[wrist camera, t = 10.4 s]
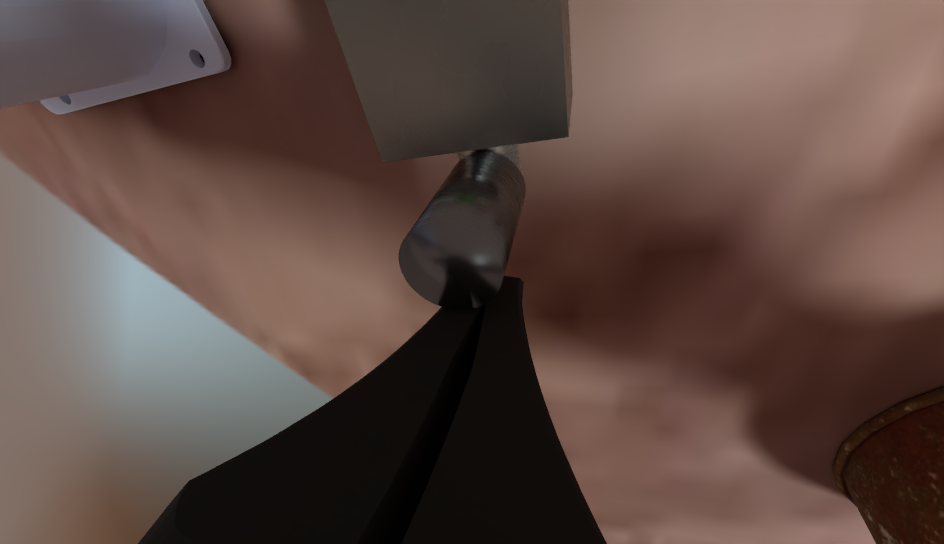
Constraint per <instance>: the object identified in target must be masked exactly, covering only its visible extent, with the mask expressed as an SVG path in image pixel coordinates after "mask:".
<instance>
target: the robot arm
mask: <svg viewBox="0 0 944 544" xmlns="http://www.w3.org/2000/svg"><path fill="white" fill-rule="evenodd" d="M199 52H200V54H201V55H202V56H203V58H204V61H205V63H204V62H203V61H202V60H201V58H200V55H199ZM230 66H231V57H230V54H229V51H228V49H227V47H226V45H225V43H224V41H223V39H222V37H221V35H220V33H219V31H218V29H217V27H216V25H215V23H214V22H213V20H212V18H211V16H210V14H209V12H208V10H207V8H206V6H205V4H204V2H203V0H0V109H1V108H6V107H11V106H16V105H20V104H25V103H30V102H34V101H40V102H41V104H42V105H43V106H44V107H45V108H46V109H48V110H49V111H50V112H53V113H55V114H58V115H61V114H65V113H69V112H73V111H77V110H81V109H84V108H88V107H92V106H96V105H99V104H103V103H107V102H111V101H115V100H118V99H122V98H126V97H130V96H134V95H137V94H141V93H145V92H149V91H152V90H156V89H160V88H164V87H168V86H171V85H175V84H179V83H183V82H186V81H190V80H194V79H198V78H202V77H205V76H209V75H213V74H217V73H220V72H224V71H227V70H228V69H230ZM523 283H524V282H523V281H522V280H521V279H520V278H515V277H507V276H504V277H503V280H502V284H501V287H500V289H499V291H498V293H497V294H496V296H495V297H494V298H493V299H492V300H490V301H489V302H488V303H486V304H484V305H482V306H480V307H477V308H473V309H465V310H458V309H450V308H446V307H441V308H440V309H439V310H438V311H437V313H436V314H435V315H434V316H433V317H432V318H431V319H430V320H429V321H428V322H427V323H426V324H425V325H424V326H423V327H422V328H421V329H420V330H419V331H417V332H416V333H415V334H414V335H413V336H412V337H411V338H410V339H409V340H408V341H407V342H406V343H404V344H403V345H402V346H401V347H400V348H399V349H398V350H397V351H396V352H394V353H393V354H392V355H391V356H390V357H388V358H387V359H386V360H385V361H384V362H382V363H381V364H380V365H379V366H377V367H376V368H375V369H374V370H372V371H371V372H370V373H368V374H367V375H366V376H364V377H363V378H362V379H360V380H359V381H358V382H356V383H355V384H353V385H352V386H351V387H349V388H348V389H346V390H345V391H344V392H342V393H341V394H340V395H338V396H337V397H335V398H334V399H332V400H331V401H329V402H328V403H326V404H325V405H323V406H322V407H320V408H319V409H317V410H315V411H314V412H312V413H311V414H309V415H307V416H306V417H304V418H302V419H301V420H299V421H297V422H296V423H294V424H292V425H291V426H289V427H288V428H286V429H285V430H283V431H281V432H279V433H278V434H276V435H274V436H273V437H271V438H269V439H268V440H266V441H264V442H262V443H260V444H259V445H257V446H255V447H253V448H251V449H249V450H247V451H245V452H243V453H242V454H240V455H238V456H236V457H234V458H232V459H230V460H228V461H226V462H225V463H223V464H221V465H219V466H217V467H215V468H213V469H211V470H210V471H208V472H206V473H204V474H202V475H200V476H198V477H196V478H194V479H192V480H190V481H189V482H188V483H187V484H186V485H185V486H184V487H183V489H182V490H181V491H180V492H179V493H178V495H177V496H176V497H175V498H174V499H173V500H172V502H171V503H170V504H169V505H168V507H167V508H166V509H165V510H164V512H163V513H162V514H161V515H160V517H159V518H158V519H157V520H156V522H155V523H154V524H153V526H152V527H151V528H150V529H149V531H148V532H147V533H146V534H145V536H144V537H143V538H142V539H141V541H140V542H139V543H138V544H607V543H606V541H605V539H604V537H603V535H602V533H601V531H600V529H599V527H598V525H597V523H596V521H595V519H594V517H593V515H592V513H591V511H590V509H589V506H588V504H587V502H586V500H585V498H584V496H583V494H582V492H581V490H580V487H579V485H578V483H577V480H576V478H575V476H574V474H573V471H572V469H571V467H570V464H569V462H568V460H567V457H566V455H565V453H564V451H563V448H562V446H561V444H560V441H559V439H558V436H557V434H556V431H555V428H554V426H553V423H552V420H551V418H550V415H549V412H548V409H547V407H546V404H545V401H544V398H543V395H542V392H541V389H540V386H539V382H538V379H537V376H536V372H535V368H534V365H533V361H532V357H531V353H530V349H529V344H528V339H527V334H526V329H525V323H524V317H523V307H522V296H523Z"/></svg>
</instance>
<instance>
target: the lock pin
mask: <svg viewBox="0 0 944 544" xmlns="http://www.w3.org/2000/svg"><path fill="white" fill-rule="evenodd" d="M457 154H458V158H459V162H458V163H457V165H456V166H455V167H454V169H453V170H452V172H451V173H450V174H449V176H448V177H447V179H446V180H445V182H444V183H443V184H442V186H441V187H440V189H439V190H438V192H437V193H436V194H435V196H434V197H433V199H432V200H431V202H430V203H429V204H428V206H427V207H426V209H425V210H424V212H423V213H422V214H421V216H420V217H419V219H418V220H417V222H416V223H415V224H414V226H413V227H412V229H411V230H410V232H409V233H408V234H407V236H406V237H405V239H404V240H403V242H402V244H401V247H400V250H399V264H400V268H401V271H402V273H403V275H404V277H405V279H406V281H407V282H408V283H409V285H410V286H411V287H412V288H413V289H414V290H415V291H416V292H417V293H418V294H419V295H421V296H422V297H424V298H425V299H427V300H428V301H430V302H432V303H434V304H436V305H439V306H442V307H446V308H450V309H458V310H465V309H473V308H477V307H480V306H482V305H484V304H486V303H488V302H489V301H490V300H492V299H493V298H494V297H495V296H496V294H497V293H498V291H499V289H500V287H501V284H502V280H503V277H504V273H505V269H506V265H507V262H508V258H509V254H510V251H511V247H512V243H513V240H514V236H515V232H516V228H517V225H518V221H519V217H520V214H521V210H522V206H523V202H524V199H525V192H526V189H525V182H524V178H523V176H522V171H521V164H520V156H519V149H518V144H513V145H506V146H499V147H491V148H484V149H477V150H469V151H462V152H457Z"/></svg>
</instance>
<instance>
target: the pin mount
mask: <svg viewBox="0 0 944 544" xmlns="http://www.w3.org/2000/svg"><path fill="white" fill-rule="evenodd" d="M324 1H325V3H326V6H327V9H328V12H329V15H330V17H331V20H332V23H333V26H334V29H335V31H336V34H337V37H338V40H339V43H340V46H341V48H342V51H343V54H344V57H345V60H346V62H347V65H348V68H349V71H350V74H351V76H352V79H353V82H354V85H355V88H356V90H357V93H358V96H359V99H360V102H361V105H362V107H363V110H364V113H365V116H366V119H367V121H368V124H369V127H370V130H371V133H372V135H373V138H374V141H375V144H376V147H377V149H378V152H379V155H380V158H381V161H382V162H389V161H396V160H404V159H411V158H418V157H426V156H433V155H440V154H448V153H455V152H462V151H469V150H477V149H484V148H491V147H499V146H506V145H513V144H521V143H528V142H535V141H542V140H550V139H557V138H564V137H569V126H570V115H571V104H572V74H571V53H570V32H569V11H568V0H324Z"/></svg>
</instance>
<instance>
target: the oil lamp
mask: <svg viewBox="0 0 944 544" xmlns="http://www.w3.org/2000/svg"><path fill="white" fill-rule="evenodd" d="M833 471H834V474H835V478H836V481H837V485H838V488H839V490H840V491H841V492H842V493H843V494H844V495H845V496H846V497H847V498H848V499H849V500H850V501H851V502H852V503H853V504H854V505H855V506H857V508H858V510H859V512H860V514H861V516H862V517H863V519H864V521H865V523H866V525H867V527H868V529H869V531H870V533H871V535H872V536H873V538H874V540H875V542H876V544H944V387H942V388H939V389H936V390H934V391H931V392H928V393H925V394H923V395H920V396H917V397H914V398H912V399H909V400H906V401H903V402H901V403H900V404H898V405H896V406H894V407H893V408H891V409H889V410H887V411H885V412H884V413H882V414H880V415H878V416H876V417H875V418H873V419H871V420H869V421H868V422H866V423H864V424H863V425H862V426H861V427H860V428H859V429H858V430H857V431H856V432H854V433H853V434H852V435H851V436H850V437H849V438H848V439H847V440H846V441H845V442H844V443H843V444H842V445H841V447H840V450H839V452H838V455H837V458H836V461H835V463H834V466H833Z"/></svg>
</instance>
